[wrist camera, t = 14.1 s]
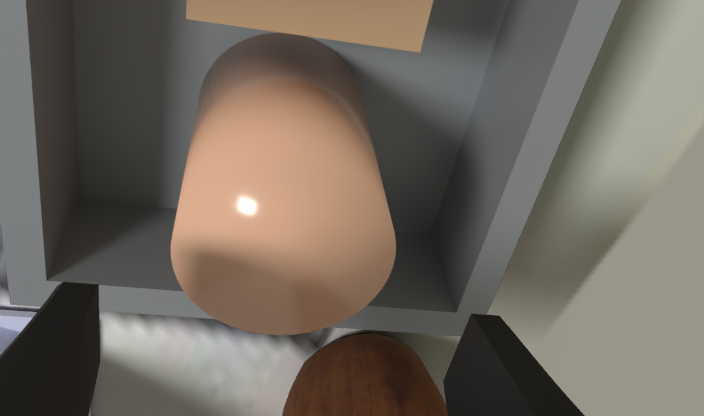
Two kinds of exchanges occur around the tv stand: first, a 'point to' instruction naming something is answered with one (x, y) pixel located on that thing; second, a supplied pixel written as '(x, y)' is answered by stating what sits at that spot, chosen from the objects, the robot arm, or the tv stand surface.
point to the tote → (177, 124)
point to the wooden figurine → (364, 381)
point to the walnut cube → (325, 19)
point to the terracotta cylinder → (281, 192)
